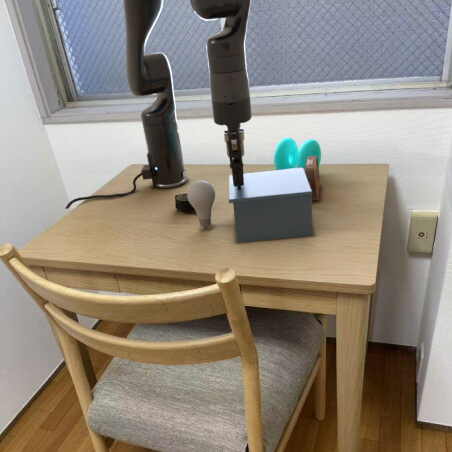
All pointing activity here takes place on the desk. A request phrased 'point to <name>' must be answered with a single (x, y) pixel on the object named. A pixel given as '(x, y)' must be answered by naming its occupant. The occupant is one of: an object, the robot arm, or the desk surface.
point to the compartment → (273, 218)
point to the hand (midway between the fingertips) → (238, 180)
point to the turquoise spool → (295, 153)
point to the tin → (313, 175)
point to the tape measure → (183, 203)
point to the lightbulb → (202, 201)
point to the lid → (270, 185)
